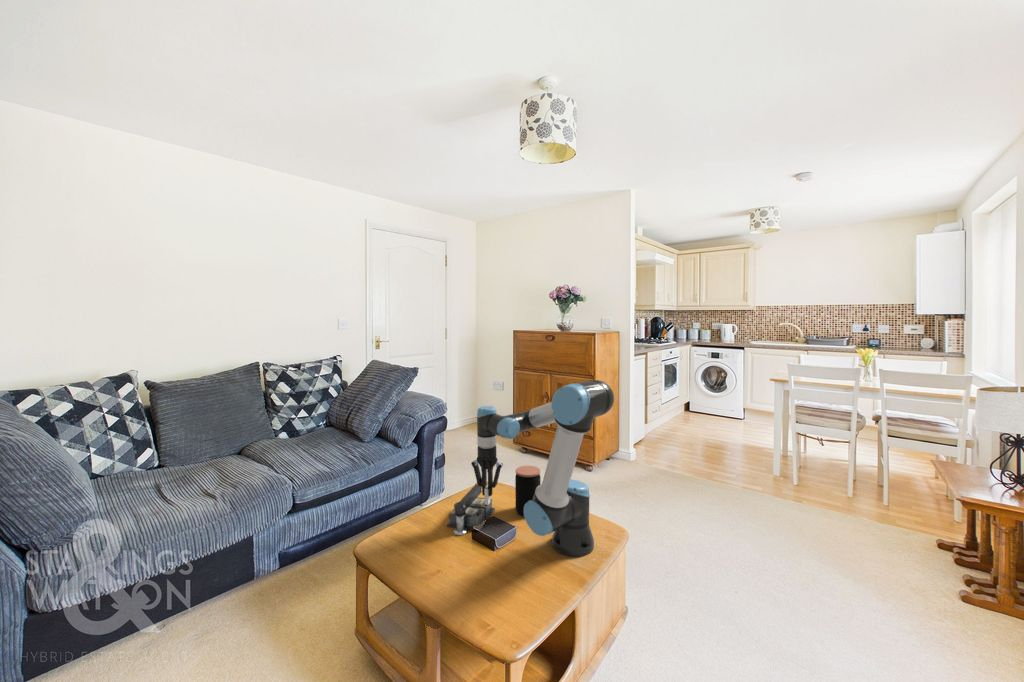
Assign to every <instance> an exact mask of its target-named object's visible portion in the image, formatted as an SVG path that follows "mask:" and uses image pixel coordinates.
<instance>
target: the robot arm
mask: <svg viewBox="0 0 1024 682" xmlns="http://www.w3.org/2000/svg"><path fill="white" fill-rule="evenodd" d="M614 403H615V395H614V392H613V390H612V387H611V386H610V385H609V384H608V383H606V382H604V381H603V380H598V379H593V380H592V379H591V380H587V381H582V382H577V383H576V382H574V383H573V382H572V383H569V384H566V385H564V386H560V387H559V388H558V389H557V390H556V391H555V392H554V394H553V396H552V398H551V401H550V402H547V403H545V404H542V405H539V406H535V407H533V408H530V409H528V410H525V411H521V412H516V413H512V414H507V415H500V414H497V408H496V407H495V406H492V405H484V406H480V407H478V408H477V411H476V427H477V429H476V432H477V435H476V436H477V440H476V441H477V442H476V444H477V457H476V459H475V460H473V461H472V462H471V466H472V468H473V471H474V476H475V479H476V483H477V484H478V486H481V487H482V493H481V494H482V496H484V498H485V505H489V503H490V499H491V497H492V496H493V489H494V488H496V486H497V485H498V481H499V477H500V472H501V470H502V468H503V466H504V463H503V462H500V461H498V458H497V436H499V437H501V438H503V439H507V440H508V439H509V440H512V439H515V438H516V437H517V436H519V434H520V433H524V432H527V431H530V430H534V429H537V428H540V427H543V426H547V425H551V424H553V423H556V425H557V427H556V431H555V435H554V438H553V442H552V446H551V449H550V454H549V456H548V461H547V463H546V468H545V471H544V475H543V478H542V479H543V480H542V482H541V483H540V485H539V486H538V487H537V488H536V490H535V494H534V497H533V499H532V500H530V501H528V502H527V503H526V504H525V506H524V516H523V517H524V520H525V522H526V525H527V526H528V527H529V529H530V531H532V532H533V534H536V535H537V536H540V537H544V536H546V535H551V534H552V537H551V542H552V543H551V545H552V547H553V549H555V551H557V552H558V553H560V554H562V555H566V556H569V557H581V556H587V555H588V554H590V553H592V552H593V550H594V548H595V538H594V535H593V532H592V530H591V526H590V497H591V496H590V488H589V485H587V484H586V483H585V482H583V481H580V480H577V479H572V476H573V473H574V469H575V465H576V463H577V460H578V455H579V452H580V449H581V445H582V442H583V438H584V435H585V434H587V433H589V432H591V430H592V426H593V422H594V419H595V418H597V417H601V416H603V415H606V414H607V413H609V411H611V409H612V408H613V406H614ZM494 467H495V468H496V469H495V473H494V472H493V470H494ZM480 469H481V470H480ZM493 473H494V475H493Z"/></svg>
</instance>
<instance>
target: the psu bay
mask: <svg viewBox="0 0 1024 682" xmlns="http://www.w3.org/2000/svg"><path fill="white" fill-rule="evenodd" d="M495 510H496V508H495V507H493V499H492V498H490V503H489V505H485V497H480V496H478V497H477V498H476V499H475V500H474V502H473V503H472V504H471V505H470V506H469V507H468V509H467V510H466V514H465V515H464V527H465V528H466V529H467V531H473V530H472V528H473V527H474V526H477V525H479V524H481V523H482V522H483V521H485V520H487V519H488V518H489V517H490V518H491V516H492V515H493V514H494V512H495ZM490 518H489V519H490ZM489 519H488V520H489ZM446 527H447V528H453V529H455V528H457V518H456V515H454V509H452V510H451V512H450V513H449V520H448V522H447V523H446Z"/></svg>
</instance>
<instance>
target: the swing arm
mask: <svg viewBox="0 0 1024 682" xmlns="http://www.w3.org/2000/svg"><path fill="white" fill-rule="evenodd" d="M481 494H482V487H481V486H478V484H477V482H476V483H475V484H474V486H473V487H472V488H471V489H469V490H468V492H466V494H465V495H464V496H463V497H462V498H461V500H460V501H457V502H455V503H454V504H453V508H454V509H453V510H454V515H456V516H463V515H465V514H466V510H467V509H468V507H469V506H470V505H471V504H472V503H473V502H474V500H475V499H476V498H477V497H480V495H481Z"/></svg>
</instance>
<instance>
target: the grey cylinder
mask: <svg viewBox="0 0 1024 682" xmlns="http://www.w3.org/2000/svg"><path fill="white" fill-rule="evenodd" d="M456 518H457V528H453V529H454V530H453V535H455V536H458V537H460V536H464V535H466V534H467V533H468V530H467V529H466V528H465V527H464V515H463V516H456Z"/></svg>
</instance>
